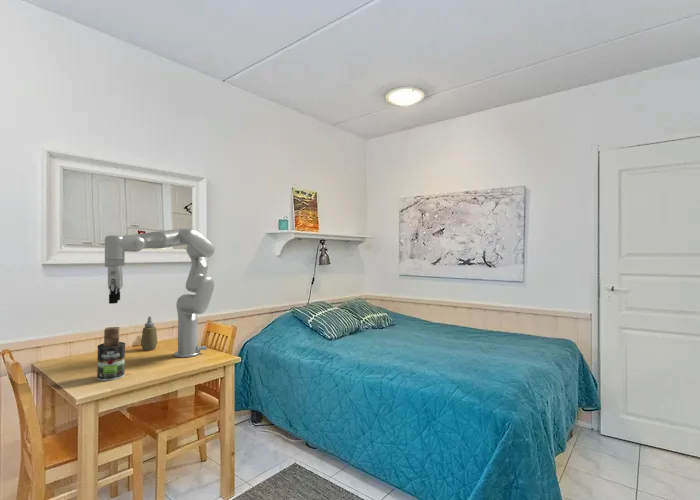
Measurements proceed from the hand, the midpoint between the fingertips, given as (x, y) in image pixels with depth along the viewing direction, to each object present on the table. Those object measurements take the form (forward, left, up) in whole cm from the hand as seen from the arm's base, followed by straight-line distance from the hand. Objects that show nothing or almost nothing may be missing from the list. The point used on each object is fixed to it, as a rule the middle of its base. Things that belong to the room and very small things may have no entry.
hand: (114, 301), depth 170 cm
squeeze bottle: (-12, -39, -32) cm, 52 cm away
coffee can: (0, +5, -32) cm, 32 cm away
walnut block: (0, +5, -18) cm, 18 cm away
